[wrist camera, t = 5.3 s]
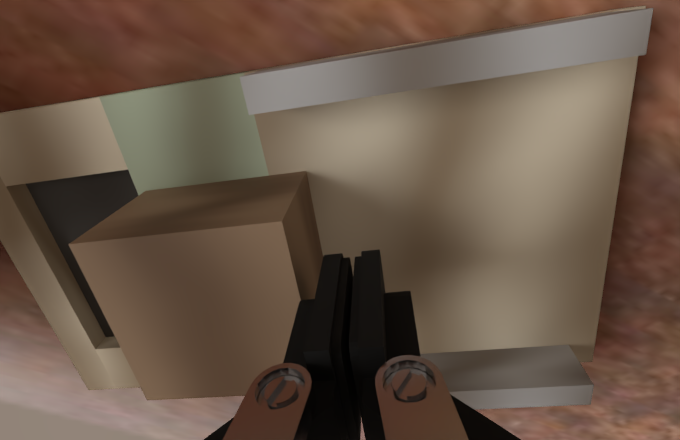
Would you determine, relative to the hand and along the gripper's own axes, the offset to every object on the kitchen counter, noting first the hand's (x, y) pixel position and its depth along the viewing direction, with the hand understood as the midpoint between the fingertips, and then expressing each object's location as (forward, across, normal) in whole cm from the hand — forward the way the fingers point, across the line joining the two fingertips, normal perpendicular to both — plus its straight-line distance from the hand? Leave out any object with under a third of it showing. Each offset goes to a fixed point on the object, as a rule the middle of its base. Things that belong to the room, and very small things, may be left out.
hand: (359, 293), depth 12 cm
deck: (+4, +3, 0) cm, 5 cm away
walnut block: (+3, +4, 0) cm, 5 cm away
